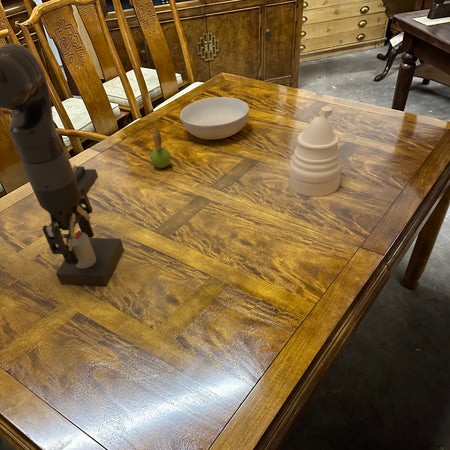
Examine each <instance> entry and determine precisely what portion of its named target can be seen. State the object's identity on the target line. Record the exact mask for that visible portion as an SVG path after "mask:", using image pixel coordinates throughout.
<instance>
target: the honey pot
mask: <svg viewBox="0 0 450 450" xmlns="http://www.w3.org/2000/svg"><path fill="white" fill-rule="evenodd" d="M332 113H333V107H331V106H322V107H320V114H321V116H316V117H315V118H313V119H312V120H311V121H310V122H309V123H308V124H307V126H306V127H305V129H304V130H303V131H301V132H300V133H299V134H298V135H297V137H296V143H297V146H296V147H294V151H293V155H292V157H291V159H290V162H289V168H288V186H289V188H290V189H291V190H292V191H293V192H294V193H297V194H300V195H302V196H305V197H323V196H328V195H331V194H332V193H334V192H336V191H337V190H338V189H339V188H340V185H341V176H342V170H343V162H342V160H341V159H342V158H341V155H340V149H339V147H338V144H339V143H340V140H341V139H340V135H339V134H338V132H335V131H334V130H333V128H332V126H331V124H330V122H329V121H328V120H327V119H328V118H329V117H330V116H331V115H332Z"/></svg>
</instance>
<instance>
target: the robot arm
mask: <svg viewBox="0 0 450 450" xmlns="http://www.w3.org/2000/svg"><path fill="white" fill-rule="evenodd" d="M49 90H50V89H49V85H48V81H47V76H46V74H45V71H44V70H43V67H42V65H41V63H40V62H39V59H37V58H36V56H35V55H34V54H33V53H32V51H30V49H28V48H26V47H25V46H23V45H22V44H18V43H13V42H11V43H5V44H3V45H1V46H0V109H1V110H6V111H11V114H12V116H11V120H10V123H9V126H8V131H9V135H10V138H11V140H12V143H13V145H14V147H15V150H16V151H17V153H18V156H19V158H20V160H21V164H22V167H23V170H24V173H25V175H26V177H27V179H28V182H29V184H30V186H31V188H32V190H33V193H34V195H35V197H36V199H37V202H38V204H39V206H40V207H41V208H42V209H43V210H44V211H46V212H47V213H48V214H49V216H50V223H49V225H43V226H42V232H43V234H44V237H45V239H46V241H47V245H48V246H49V248H50V250H51V253H52V254H53V255H62V257H63V259H64V260H65V261H66V263H67V264H70V265H77V264H78V262H79V260H78V258H77V256H76V253H75V251H74V249H73V248H72V239H73V238H74V236H75V234H74V233H75V229H76V225H78V227H79V231H81V232H84V233H86V234H87V235H88V238H94V235H95V233H94V230H93V227H92V224H91V222H90V221H91V215H90V214H92V213H93V207H92V205H91V202H90V199H89V197H88V193H87V194H86V192H85V189H84V188H83V187H79V186H78V183H77V180H76V177H75V175H74V172H73V169H72V166H71V165H72V164H71V161H70V159H69V157H68V155H67V153H66V151H65V149H64V146H63V143H62V140H61V138H60V136H59V133H58V130H57V128H56V125H55V122H54V115H53V106H52V102H51V96H50V91H49ZM83 205H84V206H83ZM63 231H67V233H63ZM64 239H65V240H66V239H67V244H66V242H65V240H64Z"/></svg>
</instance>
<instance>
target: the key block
mask: <svg viewBox="0 0 450 450" xmlns="http://www.w3.org/2000/svg"><path fill="white" fill-rule="evenodd" d="M76 168H77V171H76V172H75V174H74V175H75V177H76V180H77V183H78V186H79V187H83V188H84V189H85V192H86V194H87V195H88V192H89V191H90V189H91V188H92V186H93V185H94V184H95V182H96V180H97V179H98V177H99V175H98V171H97V168H94V169H93V168H91V169H90V168H89V169H88V168H85V166H76Z"/></svg>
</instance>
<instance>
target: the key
mask: <svg viewBox="0 0 450 450" xmlns="http://www.w3.org/2000/svg"><path fill="white" fill-rule="evenodd" d="M71 166H72V169H73V172H74V174H75V172H76V171H77V168H76V164H71Z"/></svg>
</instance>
